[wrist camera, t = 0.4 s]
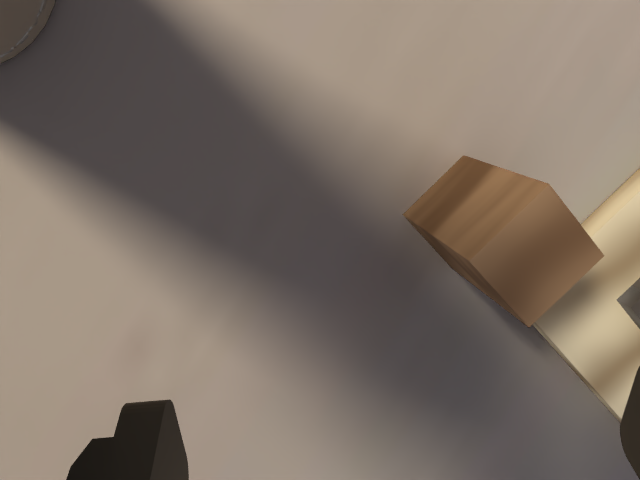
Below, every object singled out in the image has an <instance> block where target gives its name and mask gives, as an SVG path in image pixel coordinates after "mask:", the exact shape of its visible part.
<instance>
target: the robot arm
mask: <svg viewBox="0 0 640 480" xmlns="http://www.w3.org/2000/svg"><path fill="white" fill-rule="evenodd" d="M54 4H55V0H0V63H2V62H4V61H6V60H8V59H11V58H13V57H15V56H16V55H17V54H18V53H20V52H21V51H22V50H23V49H25V48H26V47H27V46H28V45H30V44H31V43H32V42H33V41H34V39H35V38H36V37H37V35H38V34H39V33H40V31H41V30H42V29H43V27H44V26H45V25H46V23H47V20H48V18H49V16H50V14H51V11H52V9H53V7H54ZM620 436H621V442H622V446H623V449H624V452H625V454H626V457H627V459H628V460H629V462H630V464H631V466H632V467H633V469H634V471H635V472H636V474H637V476H638V478H639V479H640V366H639V368H638V370H637V372H636V376H635V379H634V382H633V385H632V388H631V391H630V394H629V398H628V401H627V404H626V407H625V410H624V413H623V416H622V420H621V424H620ZM66 480H189V474H188V462H187V456H186V452H185V448H184V444H183V440H182V436H181V432H180V428H179V425H178V421H177V417H176V413H175V409H174V405H173V403H172V401H171V400H160V401H148V402H135V403H126V404H125V405H124V406H123V408H122V410H121V413H120V416H119V420H118V423H117V427H116V430H115V434H114V437H109V438H97V439H92V440H91V441H90V443H89V444H88V445H87V447H86V448H85V449H84V450H83V452H82V453H81V454H80V456H79V457H78V458H77V459H76V461H75V462H74V463H73V465H72V466H71V467H70V470H69V473H68V476H67V479H66Z"/></svg>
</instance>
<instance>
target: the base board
mask: <svg viewBox="0 0 640 480" xmlns="http://www.w3.org/2000/svg"><path fill="white" fill-rule="evenodd" d="M581 226H582V227H583V228H584V230H585V231H586V232H587V234H588V235H589V236H590V238H591V239H592V240H593V241H594V243H595V244H596V245H597V247H598V248H599V249H600V250H601V252H602V253H603V254H604V257H603V258H602V259H601V260H600V261H599V262H598V263H597V264H596V265H594V266H593V267H592V268H591V269H590V270H589V271H588V272H587V273H586V274H585V275H584V276H583V277H582V278H581V279H580V280H579V281H578V282H577V283H576V284H574V285H573V286H572V287H571V288H570V289H569V290H568V291H567V292H566V293H565V294H564V295H563V296H562V297H561V298H560V299H559V300H558V301H557V302H556V303H554V304H553V305H552V306H551V307H550V308H549V309H548V310H547V311H546V312H545V313H544V314H543V315H542V316H541V317H540V318H539V319H538V320H537V321H535V322H534V323H533V324H532V325H533V326H534V327H535V328H536V329H537V330H538V331H539V332H540V334H541V335H542V336H543V337H544V338H545V339H546V340H547V341H548V342H549V344H550V345H551V346H552V347H553V348H554V349H555V350H556V351H557V353H558V354H559V355H560V356H561V357H562V358H563V359H564V360H565V362H566V363H567V364H568V365H569V366H570V367H571V368H572V369H573V371H574V372H575V373H576V374H577V375H578V376H579V377H580V378H581V379H582V381H583V382H584V383H585V384H586V385H587V386H588V387H589V388H590V390H591V391H592V392H593V393H594V394H595V395H596V396H597V397H598V399H599V400H600V401H601V402H602V403H603V404H604V405H605V406H606V407H607V409H608V410H609V411H610V412H611V413H612V414H613V415H614V416H615V418H616V419H617V420H618V421H619V422H620V423H621V420H622V416H623V413H624V410H625V407H626V404H627V401H628V398H629V394H630V391H631V388H632V385H633V382H634V379H635V376H636V372H637V370H638V368H639V366H640V168H639V169H638V170H637V171H636V172H635V173H634V174H633V175H632V176H631V177H630V178H629V179H628V180H627V181H626V182H625V183H624V184H623V185H622V186H621V187H620V188H619V189H618V190H616V191H615V192H614V193H613V194H612V195H611V196H610V197H609V198H608V199H607V200H606V201H605V202H604V203H603V204H602V205H601V206H600V207H599V208H598V209H597V210H596V211H595V212H593V213H592V214H591V215H590V216H589V217H588V218H587V219H586V220H585V221H584V222H583V223H582V224H581Z"/></svg>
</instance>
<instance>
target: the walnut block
mask: <svg viewBox="0 0 640 480" xmlns="http://www.w3.org/2000/svg"><path fill="white" fill-rule="evenodd" d="M403 215H404V217H405V218H406V219H407V220H408V221H409V222H410V223H411V224H412V225H413V226H414V227H415V228H416V230H417V231H418V232H419V233H420V234H421V235H422V236H423V237H424V238H425V239H426V240H427V242H428V243H429V244H430V245H431V246H432V247H433V248H434V249H435V250H436V251H437V252H438V254H439V255H440V256H441V257H442V258H443V259H444V260H445V261H446V262H447V263H448V264H449V265H450V267H451V268H452V269H453V270H455V271H456V272H457V273H459V274H460V275H461V276H463V277H464V278H465V279H466V280H468V281H469V282H470V283H472V284H473V285H474V286H476V287H477V288H478V289H479V290H481V291H482V292H483V293H485V294H486V295H487V296H489V297H490V298H491V299H492V300H494V301H495V302H496V303H498V304H499V305H500V306H502V307H503V308H504V309H505V310H507V311H508V312H509V313H511V314H512V315H513V316H515V317H516V318H517V319H518V320H520V321H521V322H522V323H524V324H525V325H526V326H528V327H530V326H531V325H532V324H533V323H534V322H535V321H537V320H538V319H539V318H540V317H541V316H542V315H543V314H544V313H545V312H546V311H547V310H548V309H549V308H550V307H551V306H552V305H553V304H554V303H556V302H557V301H558V300H559V299H560V298H561V297H562V296H563V295H564V294H565V293H566V292H567V291H568V290H569V289H570V288H571V287H572V286H573V285H574V284H576V283H577V282H578V281H579V280H580V279H581V278H582V277H583V276H584V275H585V274H586V273H587V272H588V271H589V270H590V269H591V268H592V267H593V266H594V265H596V264H597V263H598V262H599V261H600V260H601V259H602V258H603V257H604V254H603V253H602V252H601V250H600V249H599V248H598V247H597V245H596V244H595V243H594V241H593V240H592V239H591V238H590V236H589V235H588V234H587V232H586V231H585V230H584V228H583V227H582V226H581V225H580V223H579V222H578V221H577V219H576V218H575V217H574V216H573V214H572V213H571V212H570V210H569V209H568V208H567V207H566V205H565V204H564V203H563V201H562V200H561V199H560V197H559V196H558V195H557V194H556V192H555V191H554V190H553V188H552V187H551V186H550V185H549V184H547V183H544V182H541V181H538V180H535V179H532V178H529V177H526V176H524V175H521V174H518V173H515V172H512V171H509V170H506V169H503V168H500V167H497V166H494V165H491V164H488V163H485V162H482V161H479V160H476V159H473V158H470V157H467V156H463V157H462V158H460V159H459V160H458V161H457V162H456V163H455V164H454V165H453V166H452V167H451V168H450V169H449V170H448V171H447V172H446V173H445V174H444V175H443V176H442V177H441V178H440V179H439V180H438V181H437V182H436V183H435V184H434V185H433V186H432V187H431V188H430V189H429V190H428V191H427V192H426V193H425V194H424V195H422V196H421V197H420V198H419V199H418V200H417V201H416V202H415V203H414V204H413V205H412V206H411V207H410V208H409V209H408V210H407V211H406V212H405V213H404V214H403Z"/></svg>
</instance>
